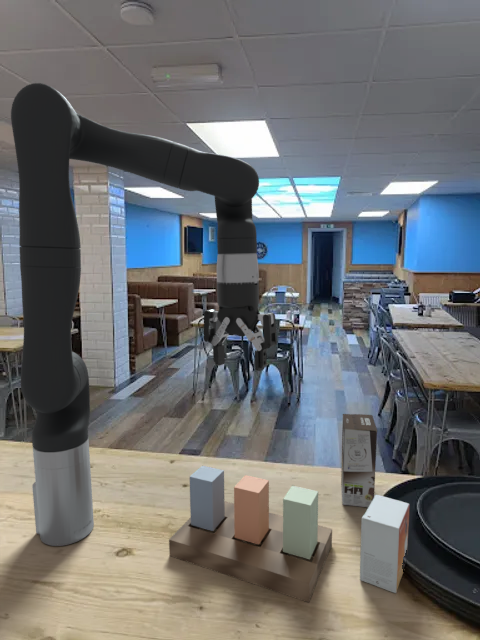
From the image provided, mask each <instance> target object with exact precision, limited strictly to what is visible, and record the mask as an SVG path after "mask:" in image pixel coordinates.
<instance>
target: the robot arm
mask: <svg viewBox="0 0 480 640" xmlns="http://www.w3.org/2000/svg"><path fill="white" fill-rule="evenodd" d="M10 121H11V127H12V134H13V142H14V149H15V156H16V163H17V168H18V169H17V170H18V186H19V187H18V188H19V191H18V192H19V195H18V213H19V214H18V216H19V217H18V218H19V219H18V220H19V222H18V223H19V225H18V226H19V268H20V280H21V281H20V282H21V302H22V305H21V306H22V317H23V319H22V320H23V342H22V343H23V345H22V355H21V356H22V357H21V367H20V380H19V381H20V390H21V393H22V396H23V398H24V400H25V401H26V403H27V404H28V405H29V407H30V408H32V409H34V410H35V411H37V412H36V416H35V417H36V418H35V422H34V425H33V427H32V430H31V443H32V459H33V466H34V467H33V468H34V469H33V470H34V479H35V481H34V482H33V484H32V485H31V487H32V497H33V498H32V499H33V511H34V525H35V533H36V534H38V535H39V539H40V540H41V542H42V543H43V544H44V545H45V544H46V545H48V546H51V547H52V546H53V547H59V546H60V547H61V546H68V545H71V544H74V543H76V542H79V541H81V540H83V539H84V538H86V537H87V536H89V534H91V532H92V531H93V530H94V526H95V523H94V522H95V521H94V509H93V508H94V505H93V489H92V474H91V473H92V471H91V457H90V444H89V443H90V439H89V425H90V419H91V404H90V403H91V399H90V398H91V397H90V395H91V394H90V377H89V371H88V368H87V365H86V362H85V361H84V359H83V358H82V357H81V355H79V354H78V353H76V352H74V351H72V349H73V348H72V324H73V317H74V313H75V309H76V306H77V300H78V295H79V290H80V286H81V276H82V264H81V263H82V261H81V260H82V256H81V253H82V251H81V248H82V247H81V235H80V230H79V224H78V220H77V214H76V211H75V206H74V202H73V197H72V193H71V187H70V160H75V161H80V162H81V161H82V162H89V163H93V164H96V165H97V164H98V165H102V166H107V167H111V168H114V169H118V170H121V171H124V172H127V173H130V174H134V175H135V176H139V177H142V178H145V179H148V180H150V181H154V182H157V183H159V184H163V185H166V186H170V187H173V188H175V189H179V190H182V191H186V192H201V193H204V194H208V195H210V196H213V197H214V206H215V215H216V222H217V231H216V233H217V234H216V239H217V240H216V245H217V248H216V249H217V258H216V259H217V261H216V295H217V297H216V298H217V299H216V301H217V305H218V311H217V310H216V309H215V308H213V309H207V310H204V312H203V338H202V339H203V341H204V342H206V343H207V342H208V343H209V344H211V346H212V353H213V354H212V355H213V357H212V358H213V362H214V363H215V366H219V367H220V366H223V365H224V364H225V359H226V357H225V356H226V355H225V353H226V352H225V344H224V342H225V341H226V339H227V338H228V337H229V336H239V337H246V338H247V340H248V341H249V342H251V344H252V345H253V347H254V348H255V349H256V350H254V370H255V372H261V371H263V370H264V369H265V367H266V366H267V364H268V363H267V358H268V357H267V356H268V355H267V350H268V349H270V348H273V347H275V346H276V345H277V344H278V340H277V337H278V336H277V325H276V324H277V323H276V322H277V321H276V314H275V313H274V312H268V313H260V309H259V305H260V304H259V303H260V290H259V289H260V286H259V285H260V284H259V283H260V281H259V279H260V274H259V273H260V272H259V262H258V261H259V260H258V254H257V253H258V246H257V245H258V240H257V227H256V225H255V223H254V220H253V198H254V197H255V196H256V194H257V193H258V190H259V188H260V187H259V186H260V177H259V174H258V173H257V171H256V169H255V168H254V167H253V166H252V165H251V164H250V163H248V162H246V161H245V160H242V159H239V158H236V157H232V156H228V155H223V154H217V153H213V152H207V151H206V152H205V151H201V150H199V149H196V148H193V147H189V146H188V145H185V144H182V143H178V142H176V141H172V140H169V139H166V138H163V137H159V136H154V135H148V134H143V133H134V132H127V131H125V130H124V131H122V130H119V129H114V128H113V127H112V128H111V127H108V126H106V125H103V124H101V123H98V122H96V121H94V120H92V119H89V118H88V117H86V116H84V115H82V114H81V113H79V112H76V110H75V109H74V107H73V106H72V104H71V103H70V102H69V100H68V99H67V98H66V97H65V95H63V93H61V92H60V91H59V90H57V89H56V88H55V87H53V86H50V85H48V84H46V83H41V82H35V83H30V84H27V85H26V86H24V87H22V88H21V89H20V90H19V91H18V92H17V94H16V95H15V97H14V99H13V101H12V103H11V109H10ZM218 321H219V323H220V326H219V327H218V328H217V322H218ZM259 322H260V324H261V325H262V326H263V332H262V330H261V329H260V327H259V326H258V324H259Z"/></svg>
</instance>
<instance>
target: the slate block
mask: <svg viewBox="0 0 480 640" xmlns="http://www.w3.org/2000/svg"><path fill="white" fill-rule="evenodd" d="M224 501H225V470H224V469H220V468H216V467H210V466H206V465H201V466H200V467H199V468H198V469H196V471H194V472H193V473H191V475H189V502H190V504H189V507H190V509H189V511H190V517H191V525H193V526H197V527H200V529H203V530H204V529H205V530H208V531H210V532H214V531H215V530H216V529H215V528H216V527H217V526H218V525H219V524H220V522H221V521H222V520H223V519H224V518H225V505H224Z"/></svg>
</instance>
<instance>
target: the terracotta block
mask: <svg viewBox="0 0 480 640" xmlns="http://www.w3.org/2000/svg"><path fill="white" fill-rule="evenodd" d="M233 497H234V498H233V504H234V529H235V538H238V539H241V540H242V541H244V542H247V543H252V544H254V545H257V546H258V545H260V544H261V543H262V542H261V541H262V539H263V538H264V536H265V535H266V533H267V531H268V530H269V513H270V480H269V479H264V478H260V477H255V476H251V475H247V474H245V475H244V476H243V477H242V478H241V479H240V480H239V481H238V482H237V483H236V484H235V486H234V487H233Z"/></svg>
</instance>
